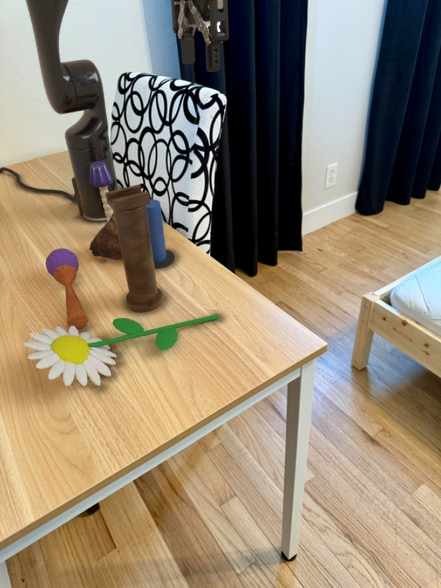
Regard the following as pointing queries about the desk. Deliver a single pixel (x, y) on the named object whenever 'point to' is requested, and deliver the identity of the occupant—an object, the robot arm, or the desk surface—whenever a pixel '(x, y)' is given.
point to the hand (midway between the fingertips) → (200, 67)
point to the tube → (156, 230)
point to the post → (135, 247)
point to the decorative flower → (93, 348)
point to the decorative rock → (107, 242)
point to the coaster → (167, 261)
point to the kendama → (67, 284)
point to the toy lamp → (101, 183)
